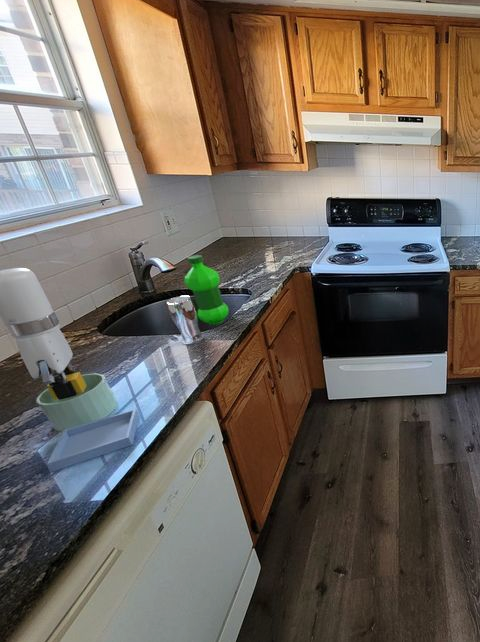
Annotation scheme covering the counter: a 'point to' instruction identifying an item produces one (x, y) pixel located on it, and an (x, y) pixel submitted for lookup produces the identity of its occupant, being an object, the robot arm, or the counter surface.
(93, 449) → the tray
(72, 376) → the sponge
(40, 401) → the bowl
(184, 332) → the beer glass
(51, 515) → the counter surface
